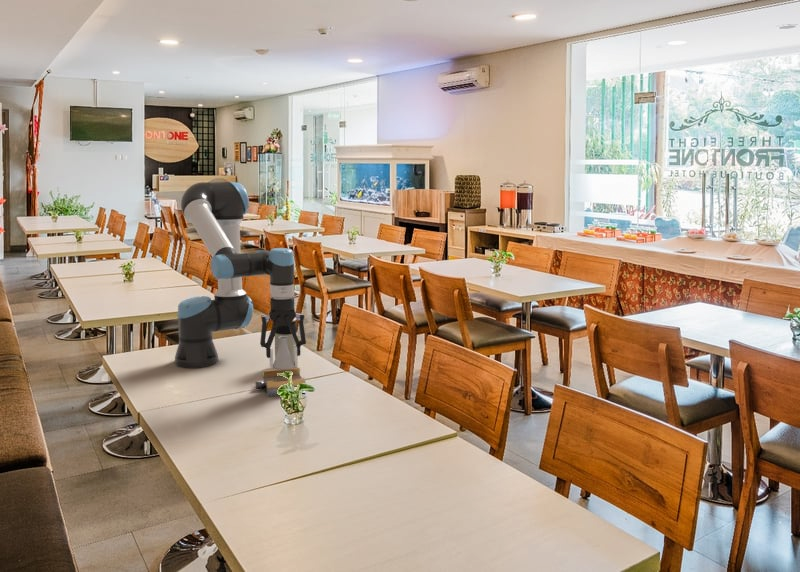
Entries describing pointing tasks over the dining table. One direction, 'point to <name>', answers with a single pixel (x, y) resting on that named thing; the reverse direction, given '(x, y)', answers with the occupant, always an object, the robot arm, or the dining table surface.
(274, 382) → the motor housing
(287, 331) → the travel mug
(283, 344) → the flask
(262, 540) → the dining table surface
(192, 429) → the dining table surface
